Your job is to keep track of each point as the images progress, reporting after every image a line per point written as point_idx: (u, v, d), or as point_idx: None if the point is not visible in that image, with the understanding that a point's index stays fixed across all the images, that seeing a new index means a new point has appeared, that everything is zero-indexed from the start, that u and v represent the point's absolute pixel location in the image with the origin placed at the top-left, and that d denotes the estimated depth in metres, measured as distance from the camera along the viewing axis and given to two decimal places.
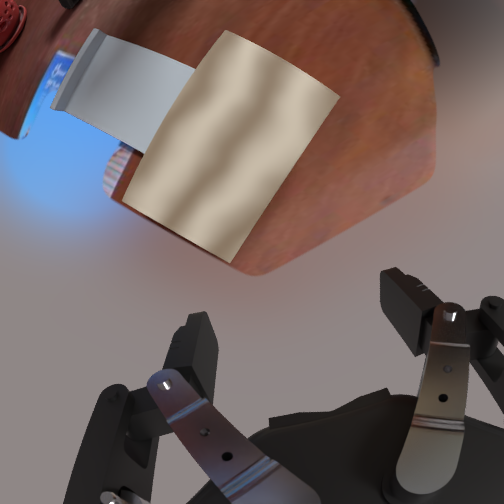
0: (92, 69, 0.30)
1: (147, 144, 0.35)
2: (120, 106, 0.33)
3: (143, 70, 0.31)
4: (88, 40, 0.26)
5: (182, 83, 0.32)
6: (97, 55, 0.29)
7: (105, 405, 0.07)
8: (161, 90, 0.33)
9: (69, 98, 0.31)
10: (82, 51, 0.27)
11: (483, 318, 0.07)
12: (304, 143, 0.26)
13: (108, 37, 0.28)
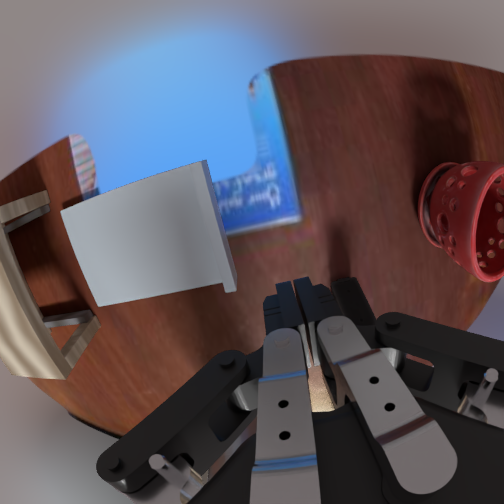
0: (200, 235, 0.31)
1: (72, 217, 0.29)
2: (124, 225, 0.30)
3: (140, 274, 0.32)
4: (226, 274, 0.29)
5: (101, 287, 0.33)
6: (212, 253, 0.31)
7: (214, 369, 0.08)
8: (107, 269, 0.32)
9: None
10: (220, 257, 0.29)
11: (386, 341, 0.07)
12: None
13: (221, 280, 0.33)
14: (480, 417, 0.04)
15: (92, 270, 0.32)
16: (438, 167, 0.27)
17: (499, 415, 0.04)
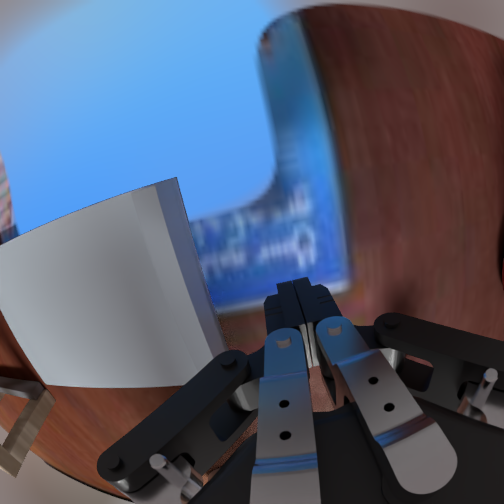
0: (170, 316, 0.17)
1: None
2: (52, 288, 0.16)
3: (87, 359, 0.18)
4: None
5: (42, 364, 0.19)
6: None
7: (215, 369, 0.08)
8: (44, 345, 0.18)
9: None
10: None
11: (385, 342, 0.07)
12: None
13: None
14: (479, 416, 0.04)
15: (27, 342, 0.18)
16: None
17: (499, 416, 0.04)
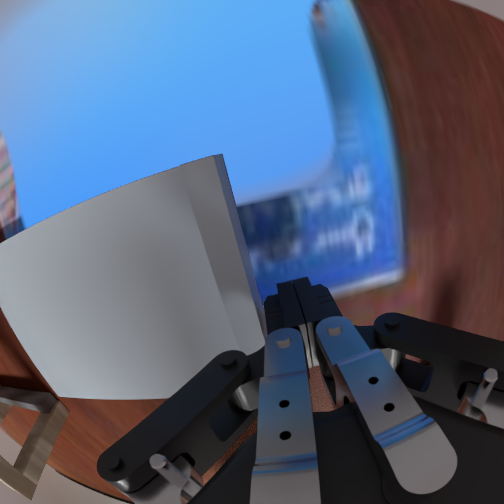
0: (213, 317, 0.15)
1: None
2: (66, 290, 0.14)
3: (108, 368, 0.16)
4: None
5: (55, 375, 0.17)
6: (237, 347, 0.15)
7: (215, 369, 0.08)
8: (56, 354, 0.16)
9: None
10: None
11: (385, 342, 0.07)
12: None
13: None
14: (480, 417, 0.04)
15: (37, 351, 0.16)
16: None
17: (498, 416, 0.04)
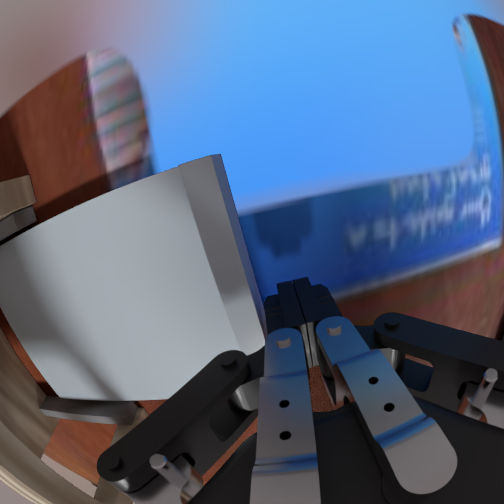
0: (213, 317, 0.15)
1: None
2: (67, 291, 0.14)
3: (109, 370, 0.16)
4: None
5: (56, 377, 0.17)
6: (237, 347, 0.15)
7: (215, 369, 0.08)
8: (58, 356, 0.16)
9: None
10: None
11: (385, 342, 0.07)
12: None
13: None
14: (479, 417, 0.04)
15: (38, 353, 0.16)
16: None
17: (499, 415, 0.04)
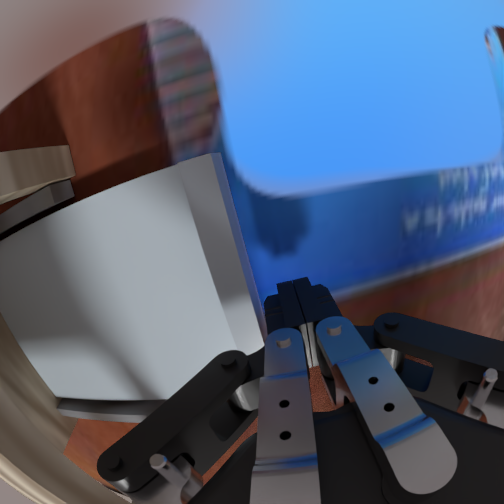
0: (211, 318, 0.14)
1: None
2: (63, 290, 0.14)
3: (105, 369, 0.16)
4: None
5: (52, 376, 0.17)
6: (235, 348, 0.15)
7: (215, 369, 0.08)
8: (54, 354, 0.16)
9: None
10: None
11: (385, 342, 0.07)
12: None
13: None
14: (480, 416, 0.04)
15: (34, 351, 0.16)
16: None
17: (499, 416, 0.04)
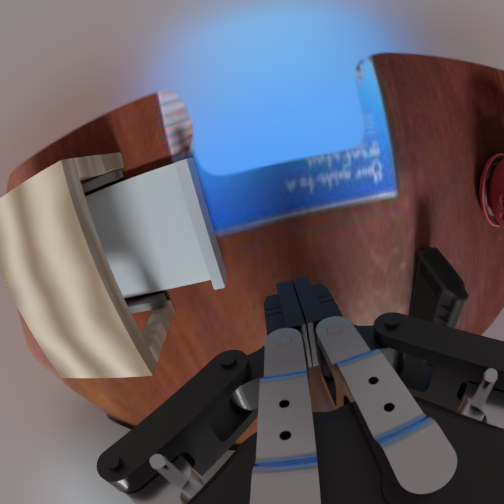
0: (189, 233, 0.31)
1: None
2: (114, 223, 0.30)
3: (131, 272, 0.32)
4: (214, 270, 0.29)
5: None
6: (200, 250, 0.31)
7: (215, 369, 0.08)
8: None
9: None
10: (207, 254, 0.29)
11: (385, 342, 0.07)
12: (34, 335, 0.23)
13: None
14: (479, 417, 0.04)
15: None
16: (494, 157, 0.26)
17: (498, 416, 0.04)
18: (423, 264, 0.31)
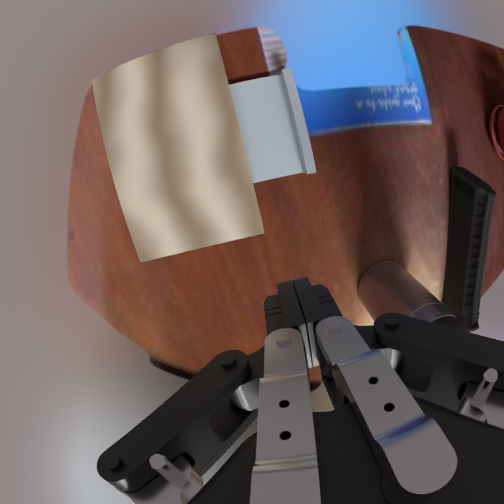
0: (282, 130, 0.34)
1: None
2: None
3: None
4: (309, 156, 0.33)
5: None
6: (291, 146, 0.35)
7: (215, 369, 0.08)
8: None
9: (283, 89, 0.32)
10: (304, 141, 0.32)
11: (385, 342, 0.07)
12: (123, 204, 0.26)
13: (298, 170, 0.36)
14: (479, 416, 0.04)
15: None
16: (497, 106, 0.30)
17: (499, 416, 0.04)
18: (457, 176, 0.34)
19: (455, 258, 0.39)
